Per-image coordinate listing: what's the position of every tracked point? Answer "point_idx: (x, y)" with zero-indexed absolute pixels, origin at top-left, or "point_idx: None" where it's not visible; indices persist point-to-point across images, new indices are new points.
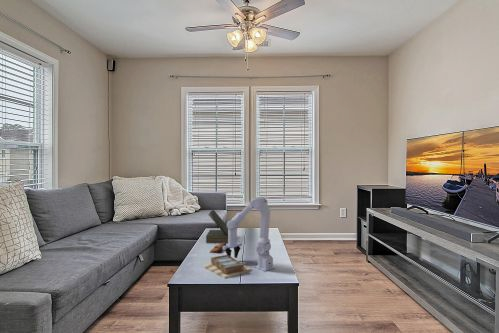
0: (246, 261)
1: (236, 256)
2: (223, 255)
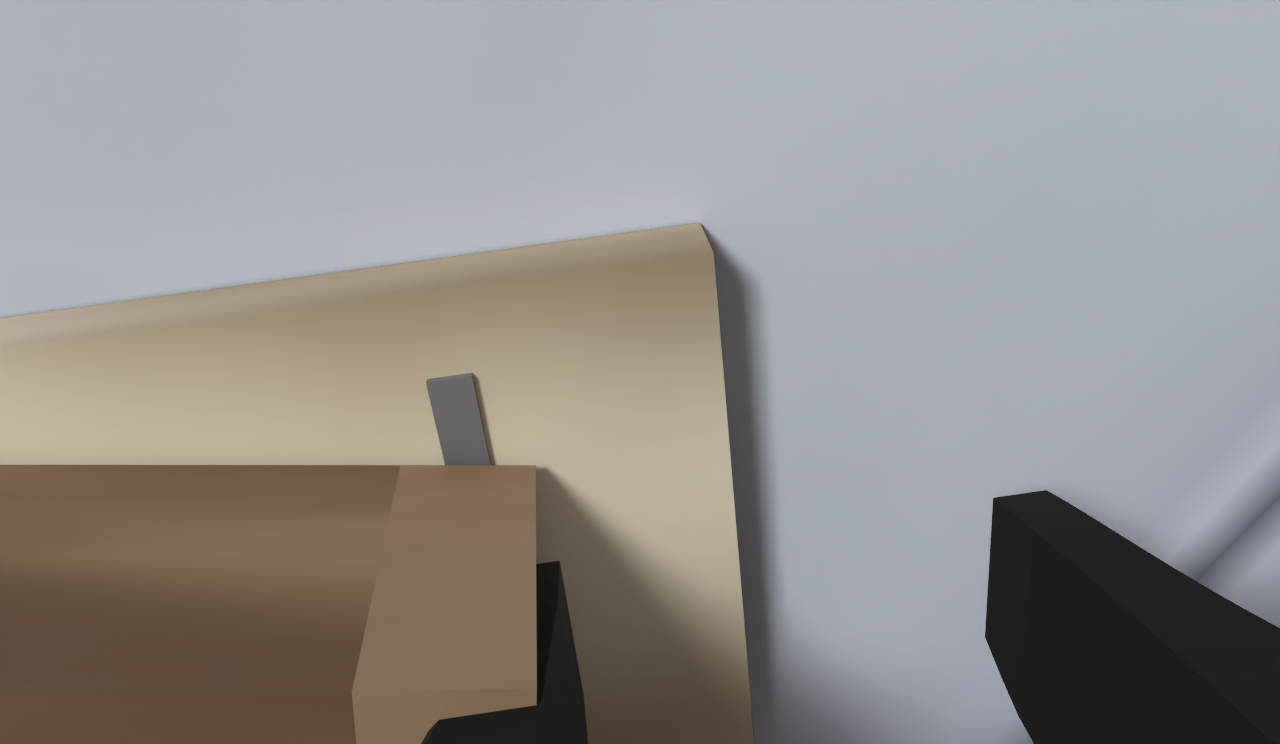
0: None
1: (1028, 717)
2: (129, 697)
